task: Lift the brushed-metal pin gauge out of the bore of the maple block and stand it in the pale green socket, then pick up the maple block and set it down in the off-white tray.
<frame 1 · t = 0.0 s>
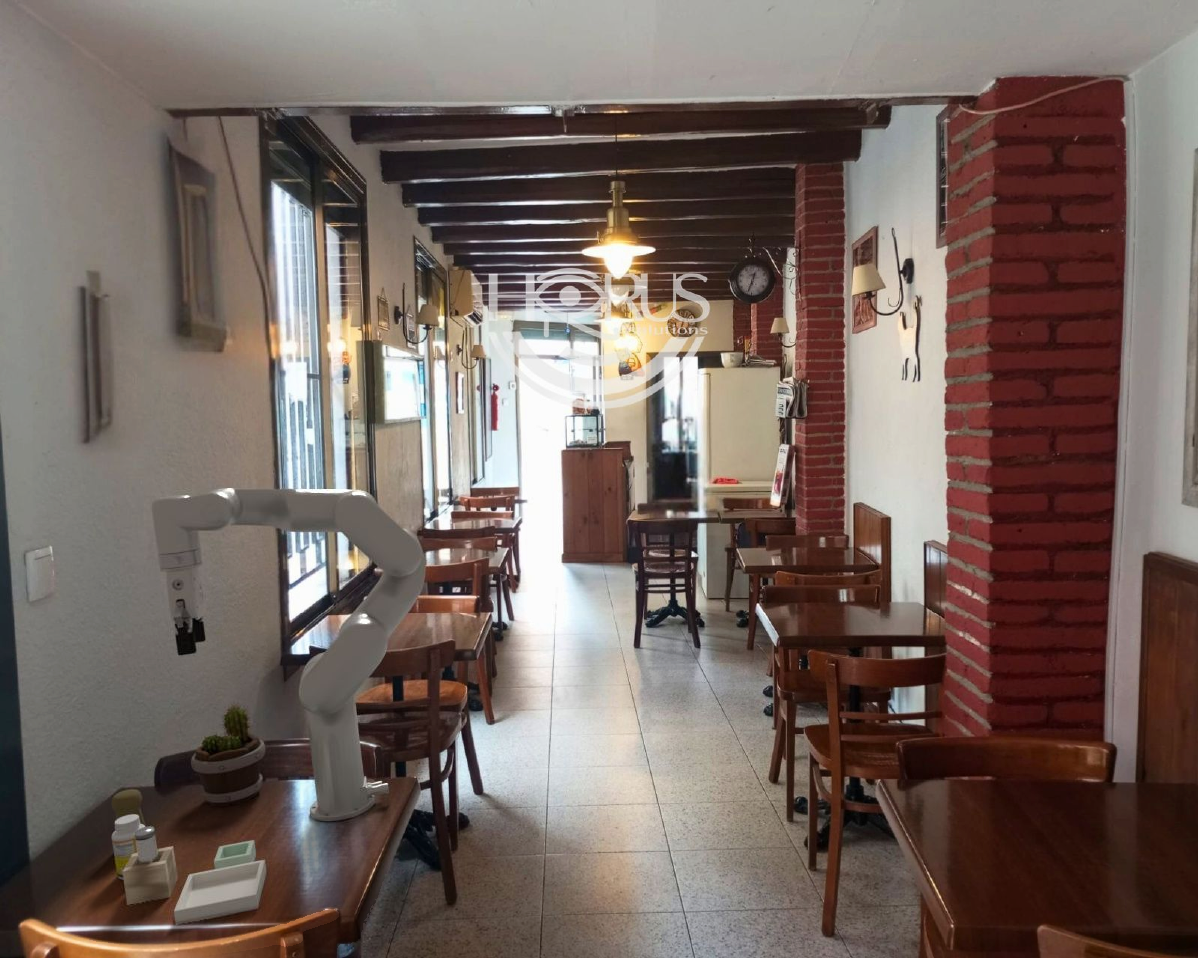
hand: (192, 647, 178), 37 cm above the table, tool pointing down, fingers open, 9 cm apart
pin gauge: (148, 861, 159), in the maple block
flowerpot: (234, 797, 198), on the table
maple block: (153, 891, 159), on the table
socket: (236, 865, 166), on the table
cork: (133, 848, 178), on the table
tray: (223, 897, 155), on the table
supplement bottle: (134, 874, 167), on the table
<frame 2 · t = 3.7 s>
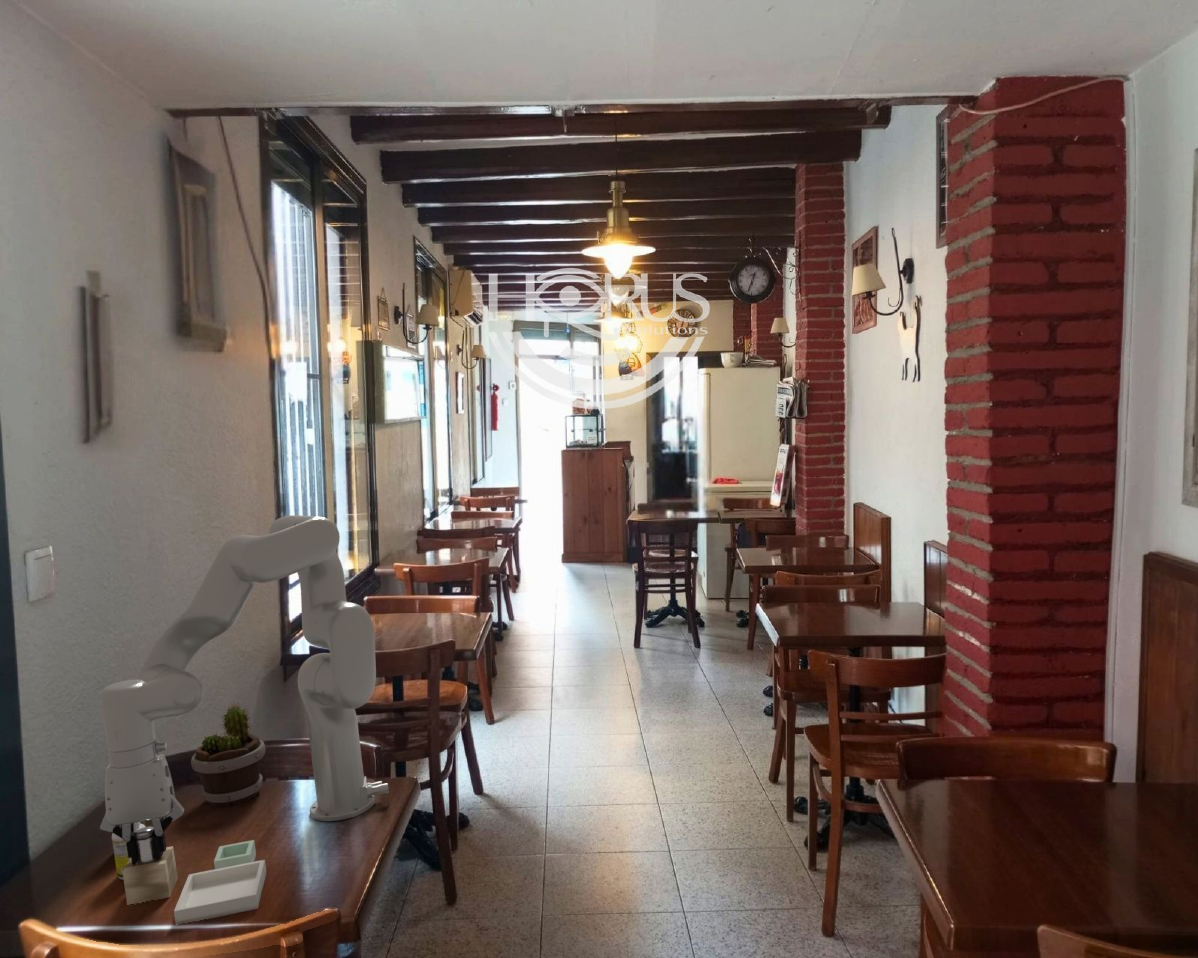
hand: (148, 857, 159), 6 cm above the table, tool pointing down, fingers closed on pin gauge, 3 cm apart
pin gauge: (148, 861, 159), in the maple block, touching gripper
everything else where it was.
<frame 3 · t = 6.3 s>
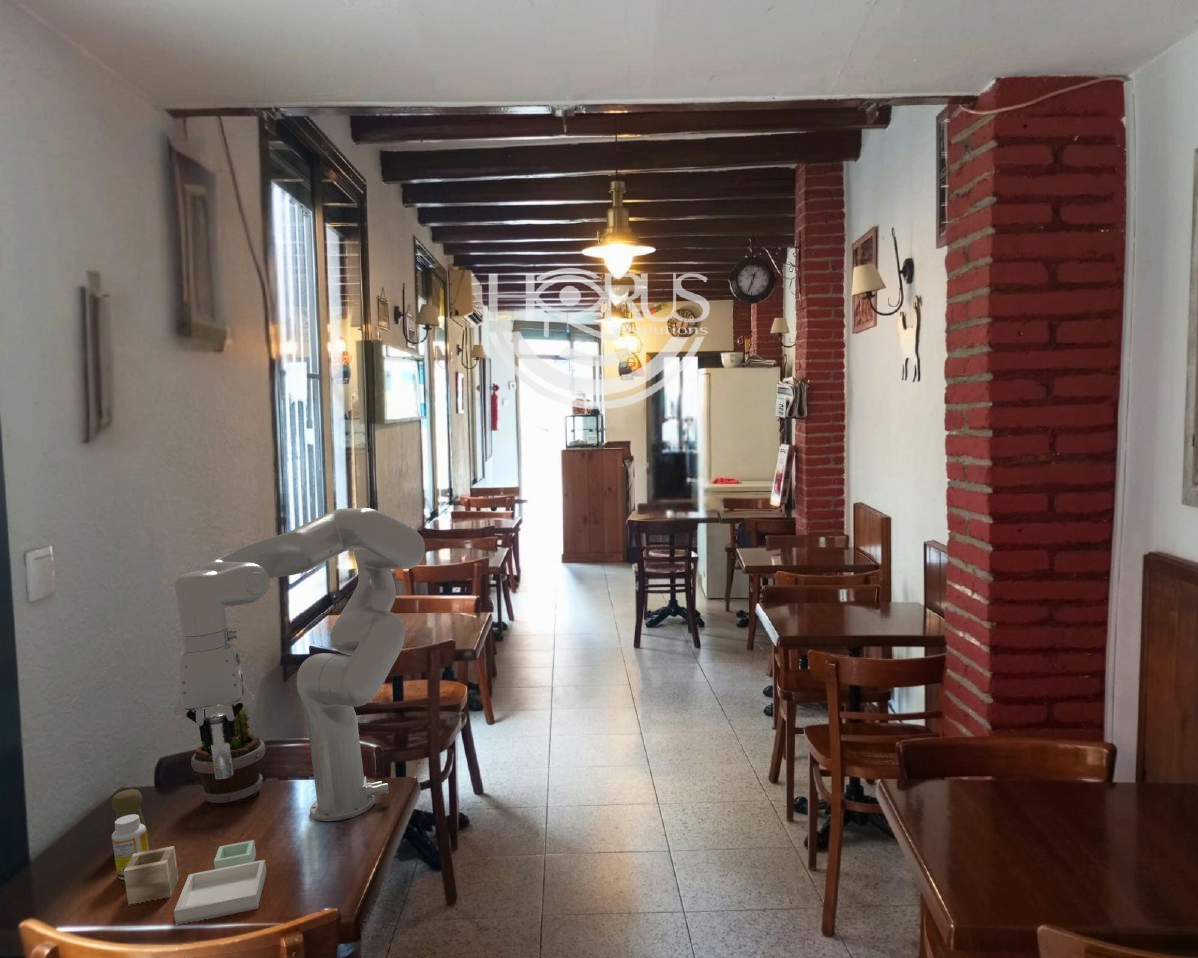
hand: (219, 741, 164), 23 cm above the table, tool pointing down, fingers closed on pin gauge, 3 cm apart
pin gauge: (220, 745, 164), point 22 cm above the table, touching gripper
everything else where it was.
when the fingers open (7 cm above the table, at t = 9.3 s): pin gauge stays where it is, resting on socket.
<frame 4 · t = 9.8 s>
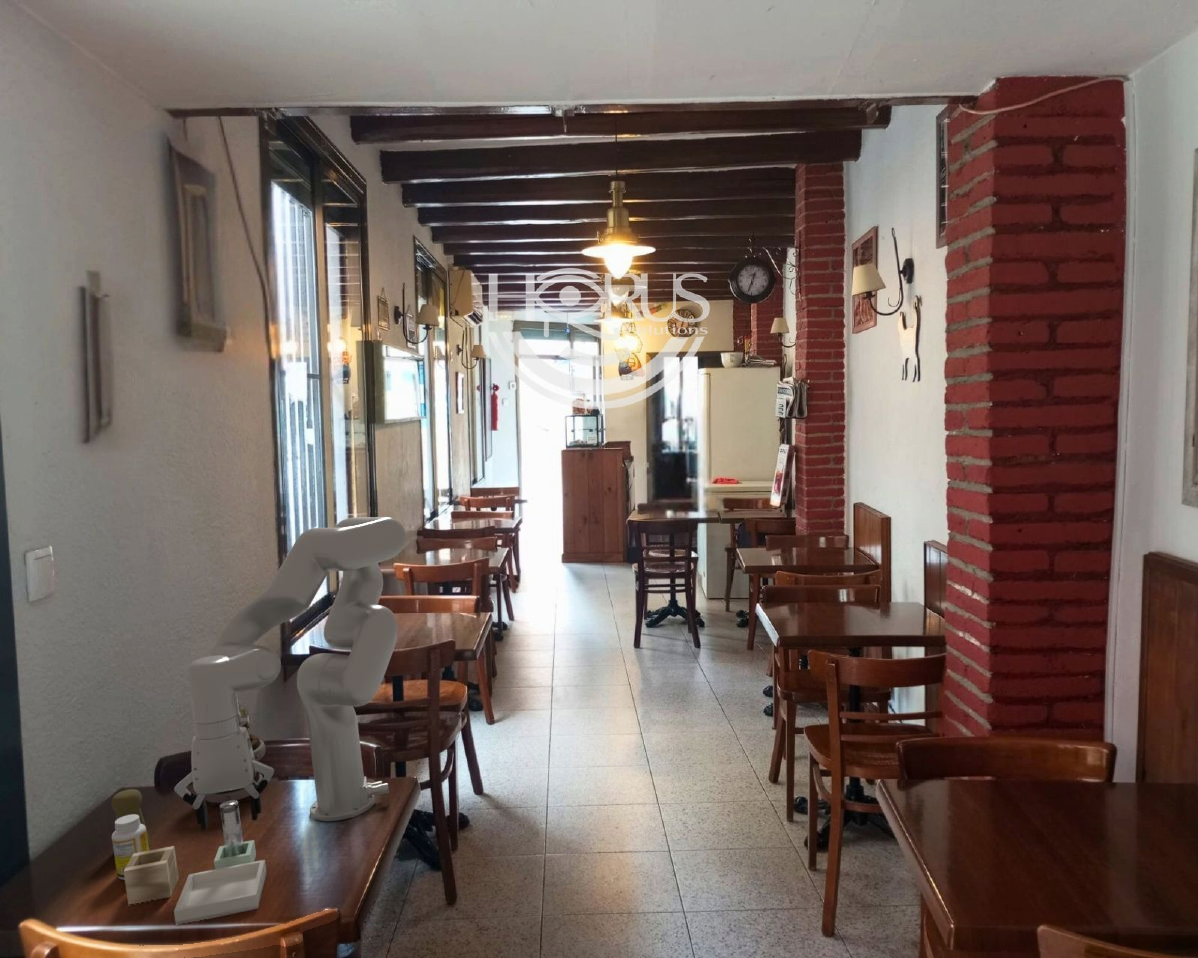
hand: (230, 821, 166), 8 cm above the table, tool pointing down, fingers open, 8 cm apart
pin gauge: (232, 833, 166), in the socket
everything else where it was.
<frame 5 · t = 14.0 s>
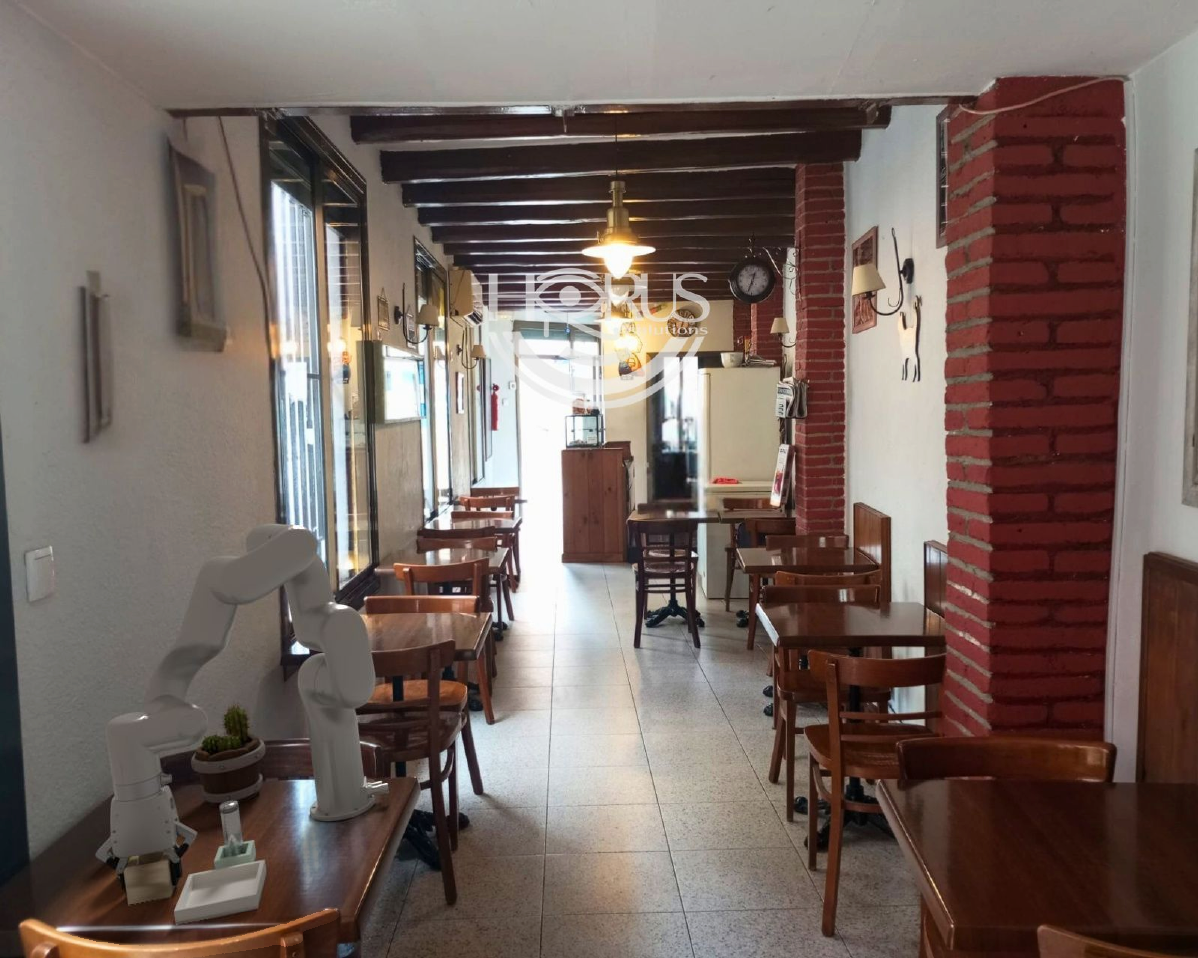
hand: (153, 885, 159), 1 cm above the table, tool pointing down, fingers closed on maple block, 6 cm apart
maple block: (154, 891, 159), on the table, touching gripper
everything else where it was.
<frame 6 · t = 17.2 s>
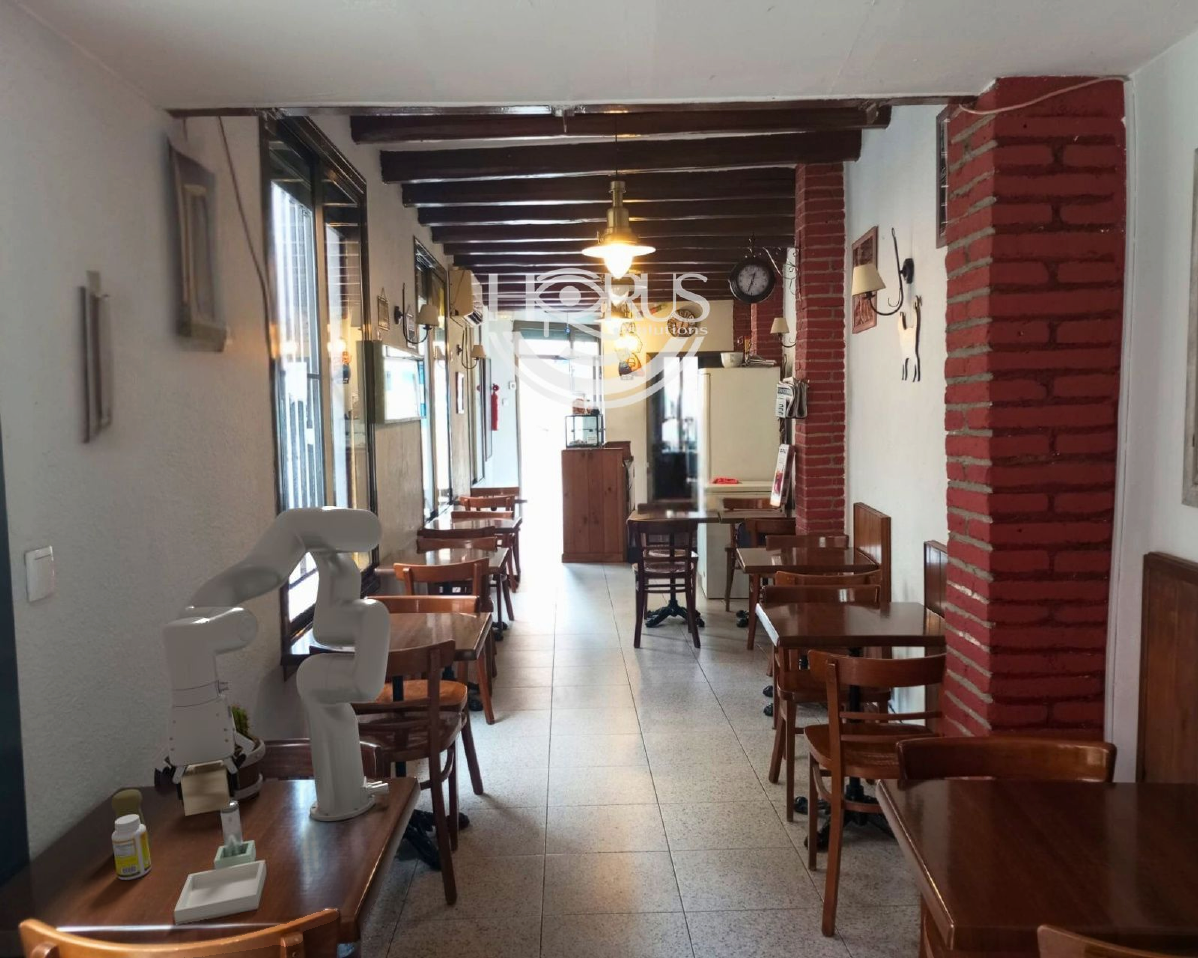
hand: (210, 797, 154), 17 cm above the table, tool pointing down, fingers closed on maple block, 6 cm apart
maple block: (210, 803, 154), point 16 cm above the table, touching gripper
everything else where it was.
when the fingers open (3 cm above the table, at t = 20.3 s): maple block drops 1 cm, resting on tray.
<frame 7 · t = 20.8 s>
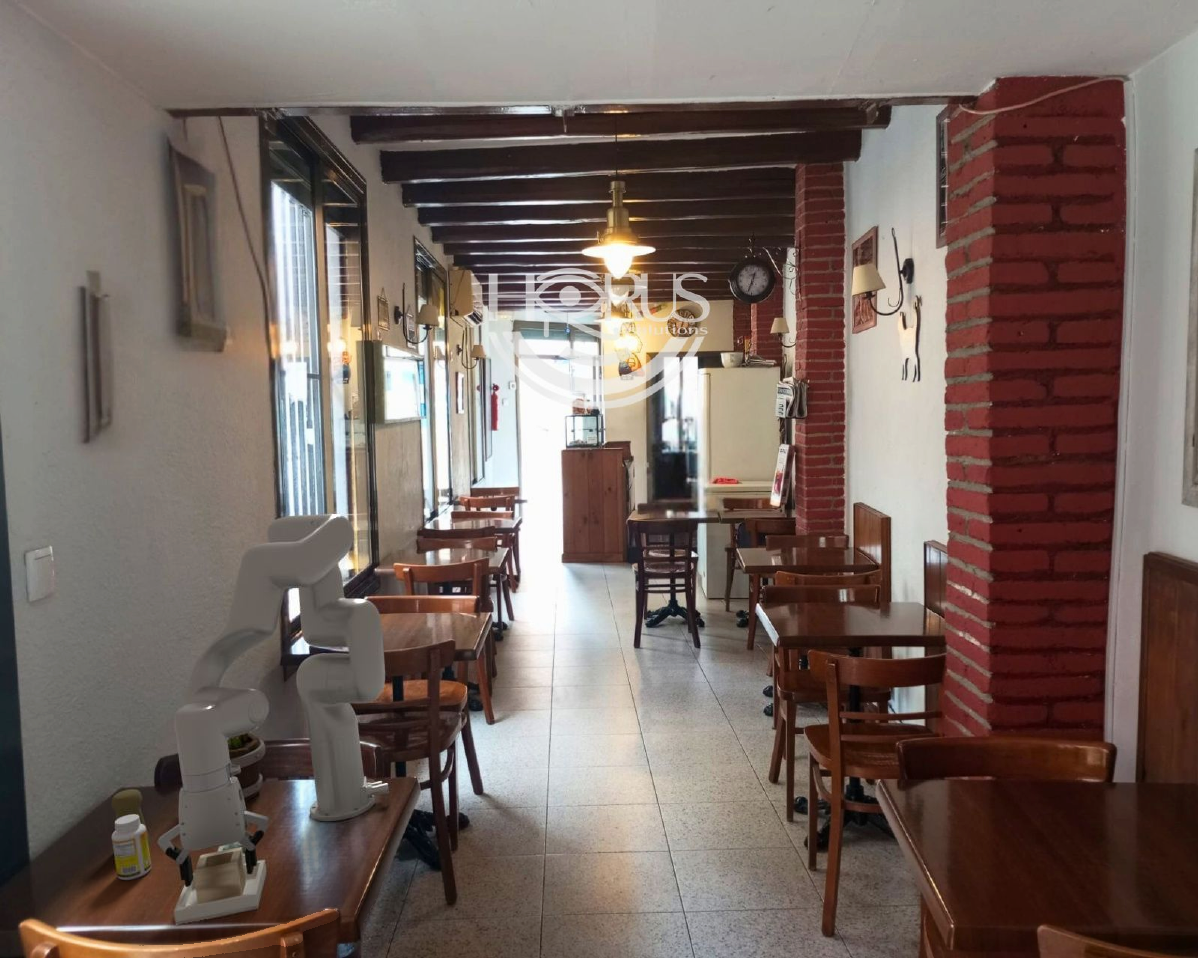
hand: (220, 876, 155), 4 cm above the table, tool pointing down, fingers open, 9 cm apart
maple block: (223, 894, 155), point 1 cm above the table, touching tray
everything else where it was.
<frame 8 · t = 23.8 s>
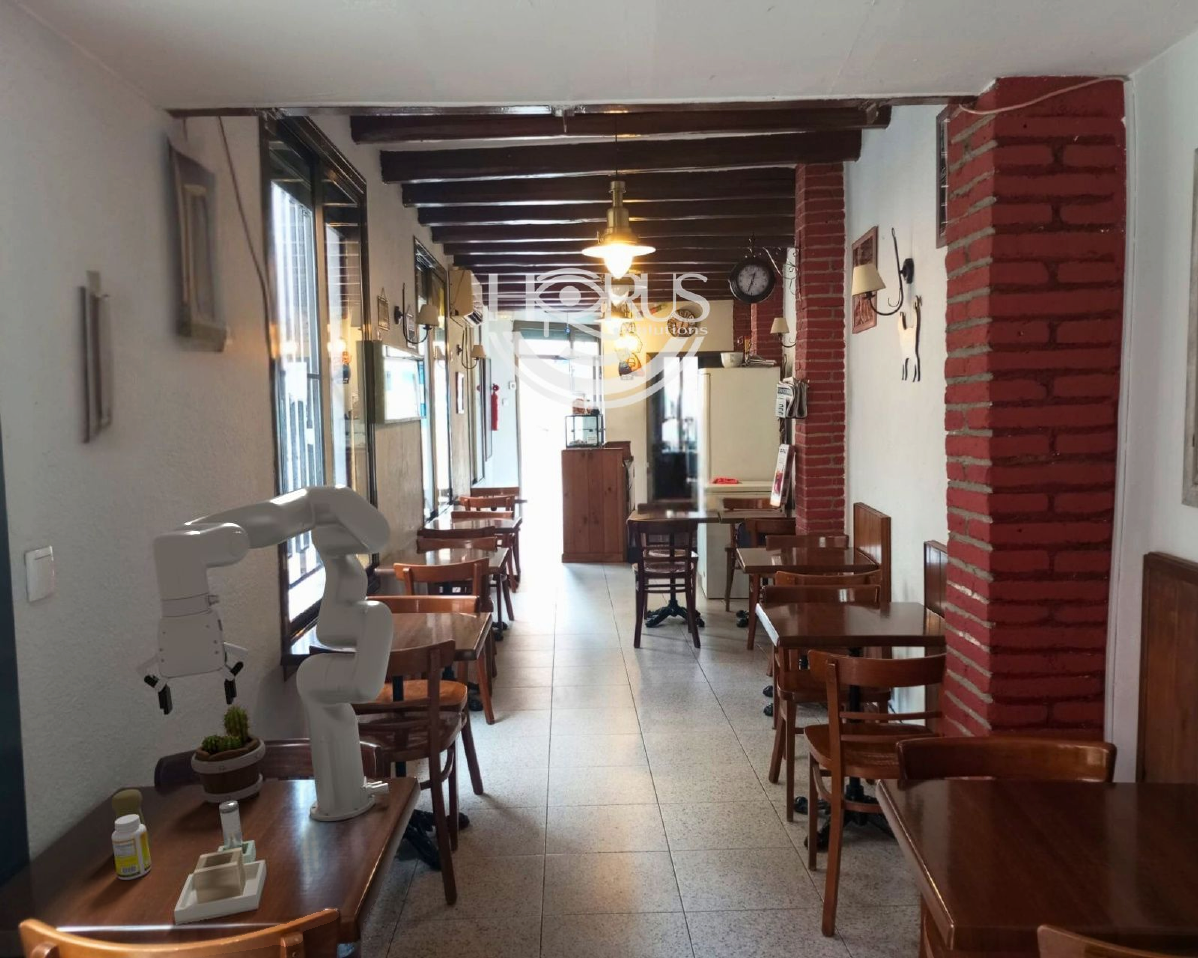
hand: (199, 707, 154), 32 cm above the table, tool pointing down, fingers open, 9 cm apart
nothing on the table moved.
at the end: maple block inside the target area on the tray (0.1 cm from its centre), point 0.6 cm above the tray's base; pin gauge 0.1 cm off-centre on the socket, point 5.9 cm above the socket's base; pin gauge tilted 0° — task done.
